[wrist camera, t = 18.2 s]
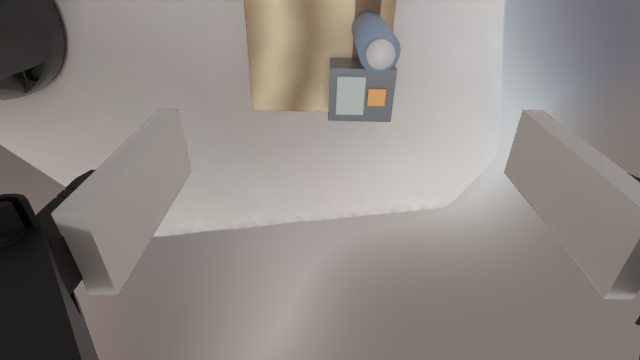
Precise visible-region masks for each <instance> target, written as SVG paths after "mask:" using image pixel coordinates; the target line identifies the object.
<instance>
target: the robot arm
mask: <svg viewBox="0 0 640 360" xmlns="http://www.w3.org/2000/svg"><path fill="white" fill-rule="evenodd" d="M63 57H64V35H63V30H62V26H61V22H60V19H59V16H58V14H57V11H56V9H55V7H54V5H53V3H52V1H51V0H0V100H8V99H15V98H19V97H23V96H26V95H28V94H30V93H32V92H35V91H37V90H39V89H41V88H43V87H45V86H46V85H47V84H49V83H50V82H51V81H52V80H53V79H54V78H55V76H56V75H57V73H58V72H59V70H60V67H61V65H62V61H63ZM190 173H191V166H190V162H189V157H188V152H187V148H186V143H185V138H184V134H183V129H182V124H181V119H180V115H179V110H178V109H158V110H157V111H156V112H155V113H154V114H153V115H152V116H151V117H150V118H149V119H148V120H147V121H146V122H145V123H144V124H143V125H142V126H141V127H140V128H139V129H138V130H137V131H136V132H135V133H134V134H133V135H132V136H130V137H129V138H128V139H127V140H126V141H125V142H124V143H123V144H122V145H121V146H120V147H119V148H118V149H117V150H116V151H115V152H114V153H113V154H112V155H111V156H110V157H109V158H108V159H107V160H106V161H105V162H104V163H103V164H102V165H100V166H99V167H98V168H97V169H96V170H90V171H88V172H86V173H85V174H83V175H81V176H79V177H77V178H76V179H75V180H73V181H72V182H71V183H70V184H69V185H68V186H67V187H66V189H65V190H63V191H62V192H60V193H59V194H58V195H57V198H54V199H53V200H52V201H51V202H50V203H48V204H47V205H46V206H45V207H44V208H43V209H42V210H41V211H40V212H39V213H38V214H37V215H35V213H34V211H33V209H32V207H31V206H30V203H29V201H28V199H27V198H26V197H25V196H24V195H20V194H3V195H0V360H99V359H98V356H97V354H96V351H95V348H94V345H93V342H92V340H91V336H90V334H89V330H88V328H87V325H86V322H85V319H84V316H83V313H82V310H81V307H80V305H79V302H78V299H77V297H76V295H75V293H74V289H75V288H76V287H77V285H78V284H79V283H80V281H81V280H83V282H84V284H85V286H86V289H87V291H88V293H89V295H118V293H119V291H120V290H121V288H122V286H123V285H124V283H125V281H126V280H127V278H128V276H129V275H130V273H131V271H132V270H133V268H134V266H135V265H136V263H137V261H138V260H139V258H140V256H141V255H142V253H143V251H144V250H145V248H146V246H147V245H148V243H149V241H150V240H151V238H152V236H153V235H154V233H155V231H156V230H157V228H158V226H159V225H160V223H161V221H162V220H163V218H164V216H165V215H166V213H167V211H168V210H169V208H170V206H171V205H172V203H173V201H174V200H175V198H176V196H177V195H178V193H179V191H180V190H181V188H182V186H183V185H184V183H185V181H186V180H187V178H188V176H189V175H190ZM504 173H505V174H506V176H507V177H508V178H509V179H510V181H511V182H512V183H513V184H514V186H515V187H516V188H517V189H518V191H519V192H520V193H521V194H522V196H523V197H524V198H525V199H526V201H527V202H528V203H529V204H530V206H531V207H532V208H533V210H534V211H535V212H536V213H537V215H538V216H539V217H540V218H541V220H542V221H543V222H544V223H545V225H546V226H547V227H548V228H549V230H550V231H551V232H552V234H553V235H554V236H555V237H556V239H557V240H558V241H559V242H560V243H561V245H562V246H563V247H564V249H565V250H566V251H567V252H568V254H569V255H570V256H571V258H572V259H573V260H574V261H575V263H576V264H577V265H578V266H579V268H580V269H581V270H582V271H583V273H584V274H585V275H586V276H587V278H588V279H589V280H590V281H591V282H592V284H593V285H594V287H595V288H596V289H597V290H598V291H599V293H600V294H601V295H602V297H603V298H604V299H634V297H635V296H636V294H637V293H638V291H639V290H640V178H638V177H635V176H633V175H631V174H629V173H627V172H625V171H624V170H623V169H621V168H620V167H619V166H617V165H616V164H614V163H613V162H612V161H610V160H609V159H608V158H607V157H605V156H604V155H603V154H601V153H600V152H598V151H597V150H596V149H594V148H593V147H592V146H590V145H589V144H588V143H586V142H585V141H584V140H582V139H581V138H580V137H578V136H577V135H576V134H574V133H573V132H572V131H570V130H569V129H567V128H566V127H565V126H563V125H562V124H561V123H560V122H558V121H557V120H556V119H554V118H553V117H552V116H550V115H549V114H548V113H546V112H545V111H543V110H523V111H522V114H521V117H520V121H519V124H518V128H517V131H516V134H515V138H514V141H513V144H512V148H511V151H510V155H509V158H508V161H507V165H506V168H505V171H504ZM635 324H638V325H640V316H639V318H638V320H637V321H636V322H635ZM639 360H640V357H639Z"/></svg>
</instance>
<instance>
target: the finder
mask: <svg viewBox="0 0 640 360" xmlns="http://www.w3.org/2000/svg"><path fill="white" fill-rule="evenodd" d="M396 72H397V69H396V68H395V66H393V67H392V68H391V69H389V70H387V71H385V72H381V73H374V72H371V71H368V70H367V69H365V68H364V67H363V65H362V64H361V62H360V60H359V58H330V75H329V109H328V120H335V121H374V122H390V121H391V113H392V104H393V96H394V88H395V80H396Z"/></svg>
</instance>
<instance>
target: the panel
mask: <svg viewBox="0 0 640 360" xmlns="http://www.w3.org/2000/svg"><path fill="white" fill-rule="evenodd" d="M395 4H396V0H244V7H245V19H246V31H247V43H248V55H249V67H250V79H251V91H252V104H253V110H275V111H314V112H328V109H329V75H330V58H359V56H358V53H357V49H356V45H355V41H354V38H353V34H352V24H353V21H354V19H355V18H356V17H357V16H358V15H359V14H360V13H362V12H365V11H372V12H375V13H377V14H378V15H379V16H380V17H381V19H382V20H383V21H384V22H385V24H386V25H387V26H388V28H389V29H390V30H391V31H392V32H393V23H394V13H395Z"/></svg>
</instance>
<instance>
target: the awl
mask: <svg viewBox="0 0 640 360" xmlns="http://www.w3.org/2000/svg"><path fill="white" fill-rule="evenodd" d="M352 34H353V38H354V41H355V45H356V49H357V53H358V56H359V60H360V62H361V64H362V65H363V67H364V68H365V69H367V70H368V71H371V72H374V73H381V72H385V71H387V70H389V69H391V68H392V67H393V66H394V65H395V64H396V62H397V60H398V58H399V55H400V45H399V42H398V40H397V38H396V37H395V35H394V34H393V33H392V31H391V30H390V29H389V28H388V26H387V25H386V24H385V22H384V21H383V20H382V19H381V17H380V16H379V15H378V14H377V13H375V12H372V11H365V12H362V13H360V14H359V15H358V16H357V17H356V18H355V19H354V21H353V24H352Z"/></svg>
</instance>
